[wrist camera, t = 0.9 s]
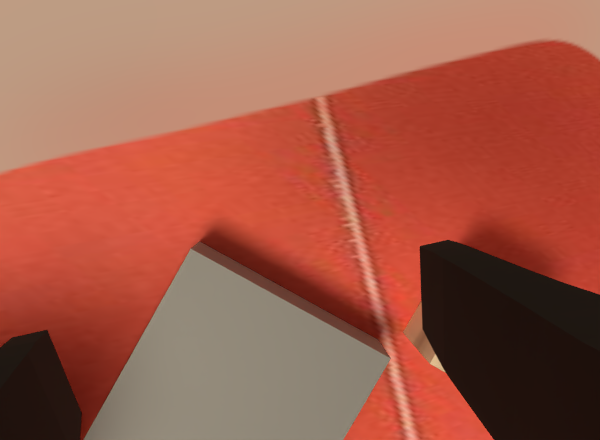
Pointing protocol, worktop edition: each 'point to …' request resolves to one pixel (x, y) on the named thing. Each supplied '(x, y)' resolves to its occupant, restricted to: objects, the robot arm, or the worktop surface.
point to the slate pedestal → (239, 363)
